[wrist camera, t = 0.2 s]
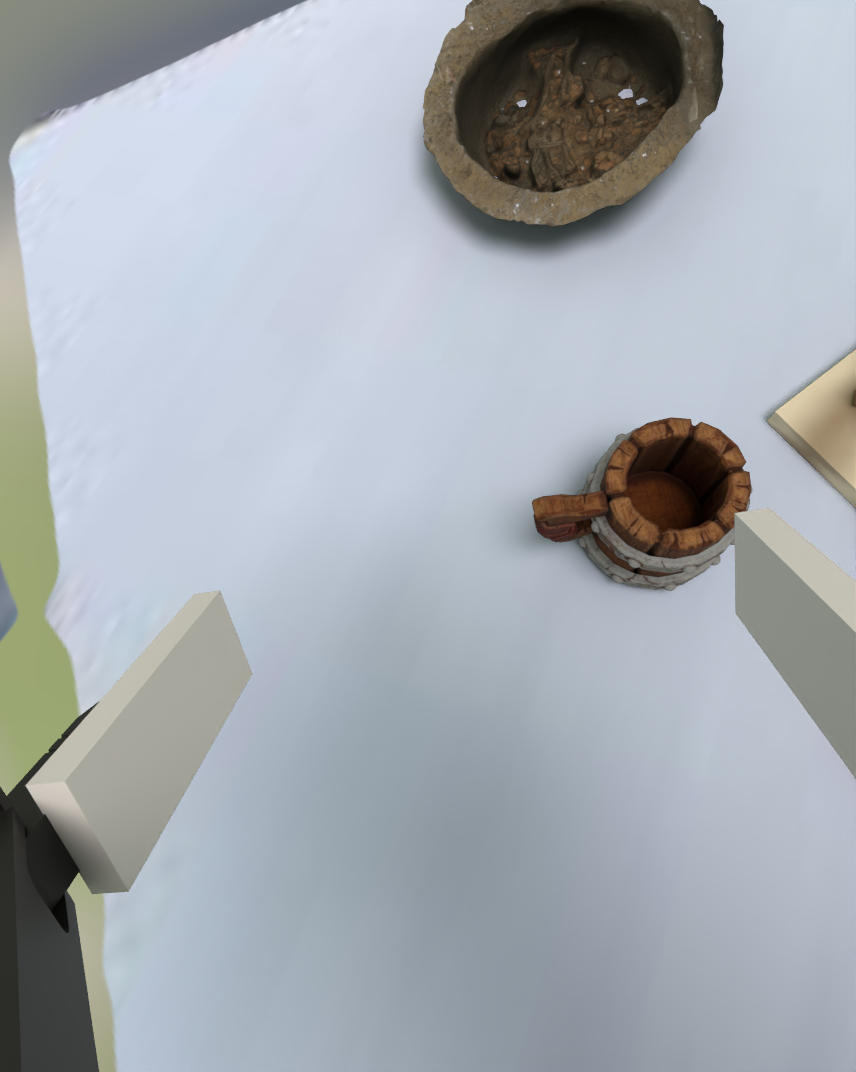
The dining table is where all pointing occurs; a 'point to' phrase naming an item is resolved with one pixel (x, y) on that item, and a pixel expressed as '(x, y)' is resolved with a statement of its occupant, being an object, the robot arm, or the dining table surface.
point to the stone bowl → (569, 101)
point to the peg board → (825, 425)
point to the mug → (655, 504)
